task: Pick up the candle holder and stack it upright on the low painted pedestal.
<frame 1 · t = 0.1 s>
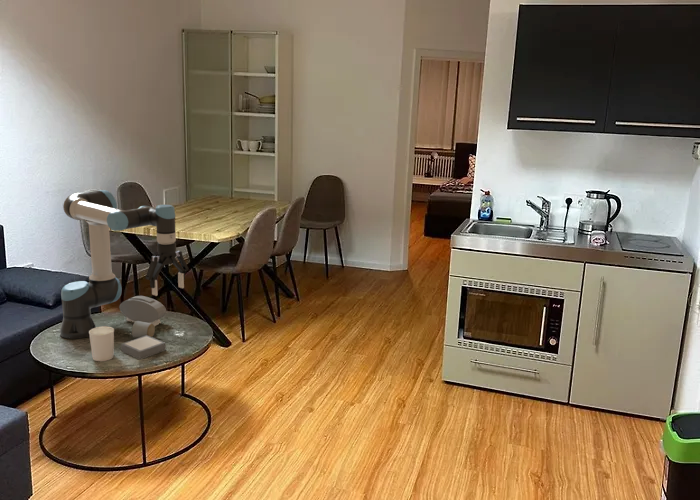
hand: (168, 291, 262), 28 cm above the table, fingers open, 13 cm apart
ceramic mug: (144, 337, 285), on the table
pedestal: (143, 350, 269), on the table
alarm clock: (143, 322, 302), on the table
candle holder: (103, 357, 261), on the table
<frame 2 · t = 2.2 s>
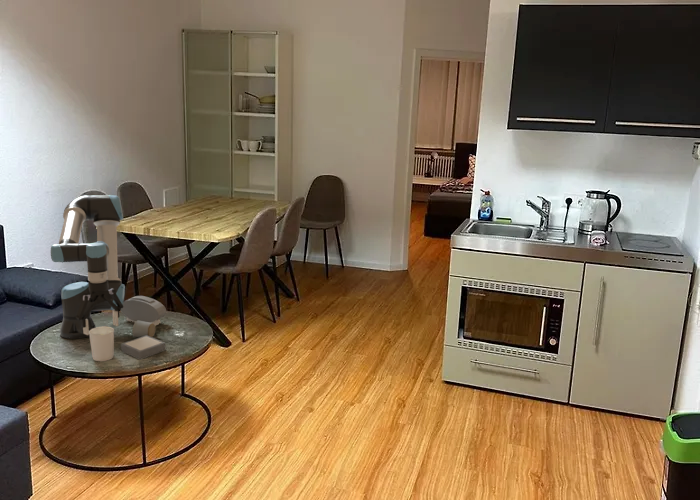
hand: (101, 329, 258), 12 cm above the table, fingers open, 13 cm apart
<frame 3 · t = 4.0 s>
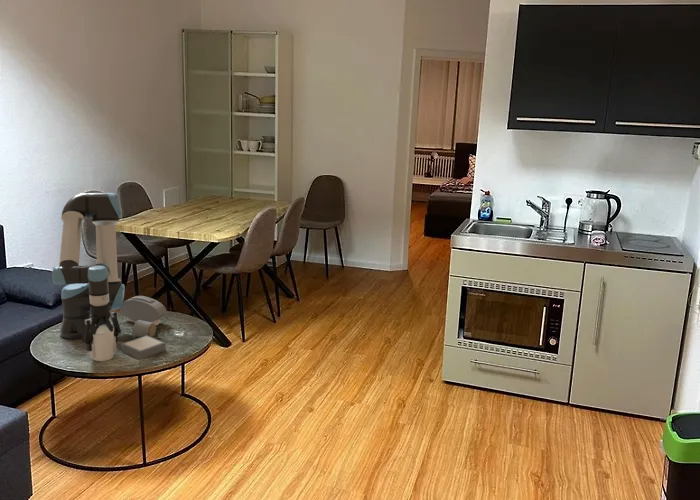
hand: (103, 353, 261), 2 cm above the table, fingers closed on candle holder, 9 cm apart
candle holder: (103, 357, 261), on the table, touching gripper
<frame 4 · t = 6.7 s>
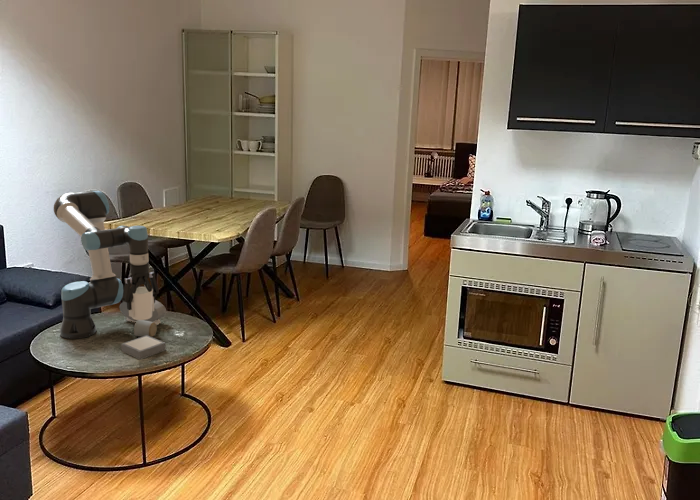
hand: (141, 313, 265), 17 cm above the table, fingers closed on candle holder, 9 cm apart
candle holder: (142, 317, 265), point 15 cm above the table, touching gripper
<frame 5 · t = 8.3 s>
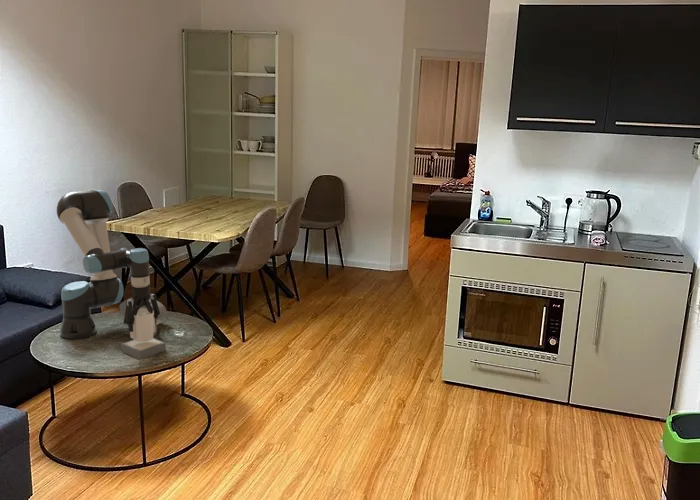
hand: (143, 334, 267), 7 cm above the table, fingers closed on candle holder, 9 cm apart
candle holder: (143, 338, 268), point 6 cm above the table, touching gripper
when the fingers open (6 cm above the table, at t = 9.6 s): candle holder stays where it is, resting on pedestal.
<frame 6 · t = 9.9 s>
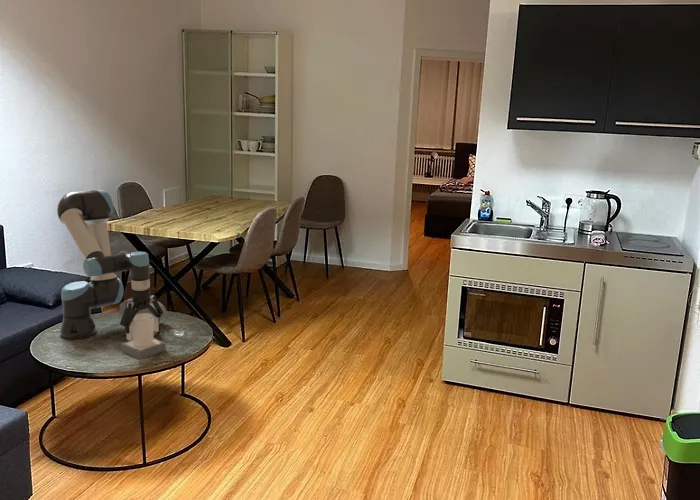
hand: (143, 335, 267), 7 cm above the table, fingers open, 13 cm apart
candle holder: (143, 343, 268), point 3 cm above the table, touching pedestal
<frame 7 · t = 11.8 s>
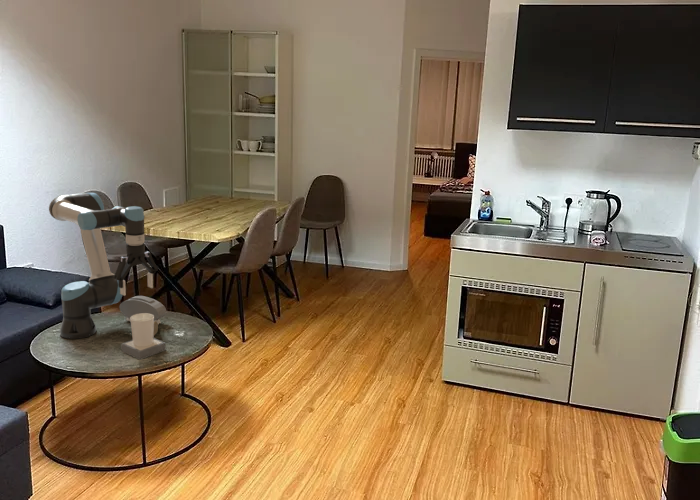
hand: (136, 290, 267), 26 cm above the table, fingers open, 13 cm apart
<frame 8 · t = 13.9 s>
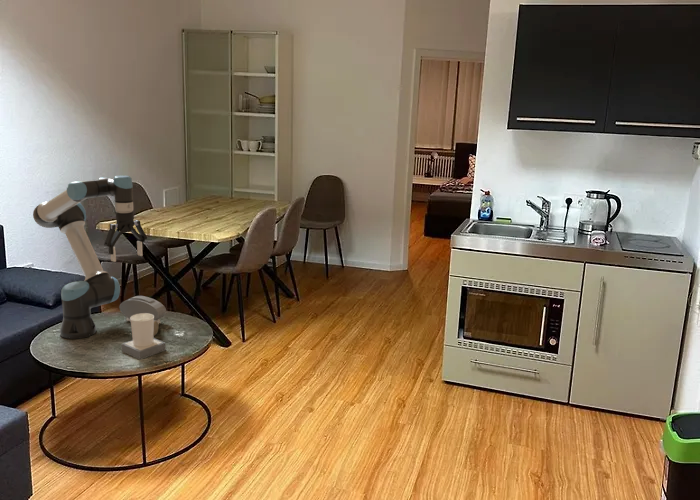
hand: (127, 258, 276), 37 cm above the table, fingers open, 13 cm apart
at the end: candle holder inside the target area on the pedestal (0.0 cm from its centre), point 3.4 cm above the pedestal's base; candle holder tilted 0°; the gripper is holding nothing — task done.
